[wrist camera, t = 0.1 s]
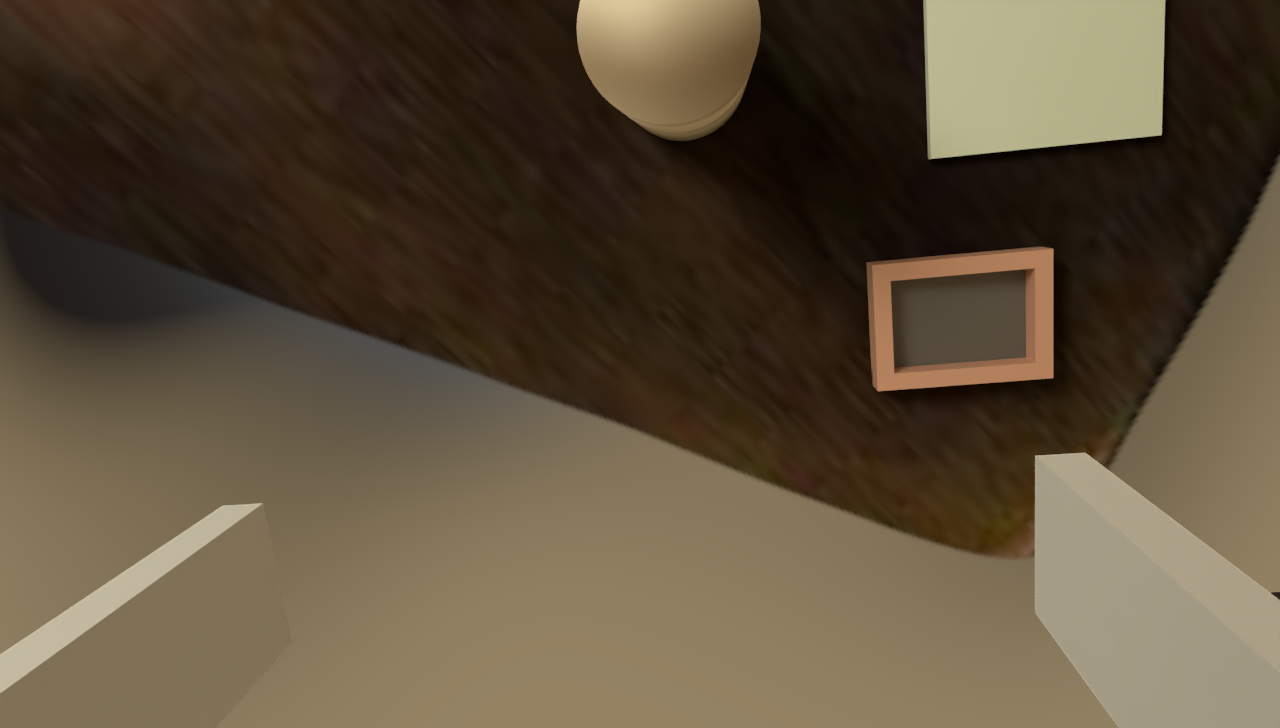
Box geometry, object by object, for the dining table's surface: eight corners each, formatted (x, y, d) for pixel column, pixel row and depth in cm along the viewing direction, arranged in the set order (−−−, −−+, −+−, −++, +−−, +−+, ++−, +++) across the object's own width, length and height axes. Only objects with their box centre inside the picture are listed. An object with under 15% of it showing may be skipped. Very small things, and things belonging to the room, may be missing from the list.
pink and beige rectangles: (555, -303, 36) (549, -323, 35) (1169, -405, 33) (1189, -432, 32) (630, 402, 43) (627, 410, 41) (1150, 362, 40) (1167, 369, 38)
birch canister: (611, 14, 39) (566, -59, 27) (741, -3, 38) (753, -84, 26) (624, 147, 40) (587, 133, 28) (751, 133, 39) (766, 113, 28)
